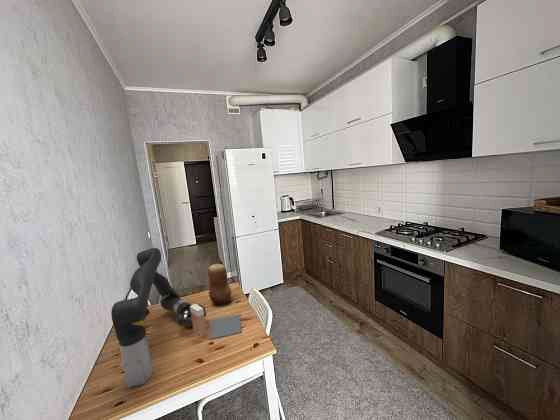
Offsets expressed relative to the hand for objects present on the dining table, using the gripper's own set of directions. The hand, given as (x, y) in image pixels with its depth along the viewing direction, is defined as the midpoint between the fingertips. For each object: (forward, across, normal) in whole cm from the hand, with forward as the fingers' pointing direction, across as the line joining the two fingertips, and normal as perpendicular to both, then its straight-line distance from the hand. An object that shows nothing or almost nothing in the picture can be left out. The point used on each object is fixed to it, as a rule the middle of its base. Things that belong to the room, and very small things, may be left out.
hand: (198, 318), depth 116 cm
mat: (+8, +10, +8) cm, 15 cm away
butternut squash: (-16, +24, +8) cm, 30 cm away
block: (0, 0, +8) cm, 8 cm away
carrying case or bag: (-45, -16, +8) cm, 48 cm away
